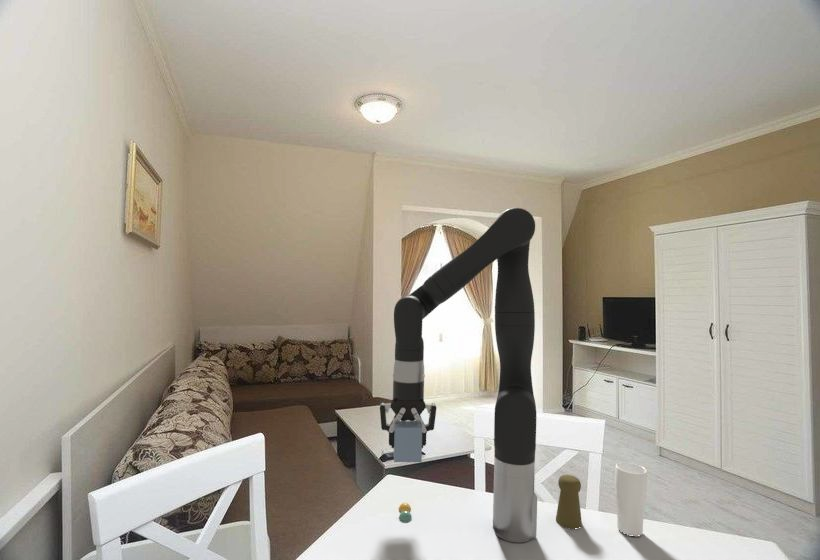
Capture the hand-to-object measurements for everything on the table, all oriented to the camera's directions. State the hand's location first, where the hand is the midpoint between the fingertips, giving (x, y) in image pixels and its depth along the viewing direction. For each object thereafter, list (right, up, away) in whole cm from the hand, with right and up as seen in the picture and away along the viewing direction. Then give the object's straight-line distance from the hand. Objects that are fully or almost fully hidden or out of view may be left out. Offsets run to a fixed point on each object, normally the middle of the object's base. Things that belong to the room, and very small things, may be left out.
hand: (407, 446), depth 104 cm
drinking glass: (+53, -19, -3) cm, 56 cm away
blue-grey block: (0, -2, 0) cm, 2 cm away
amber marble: (-1, -16, +2) cm, 16 cm away
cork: (+39, -19, +1) cm, 44 cm away
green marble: (0, -16, -2) cm, 16 cm away
